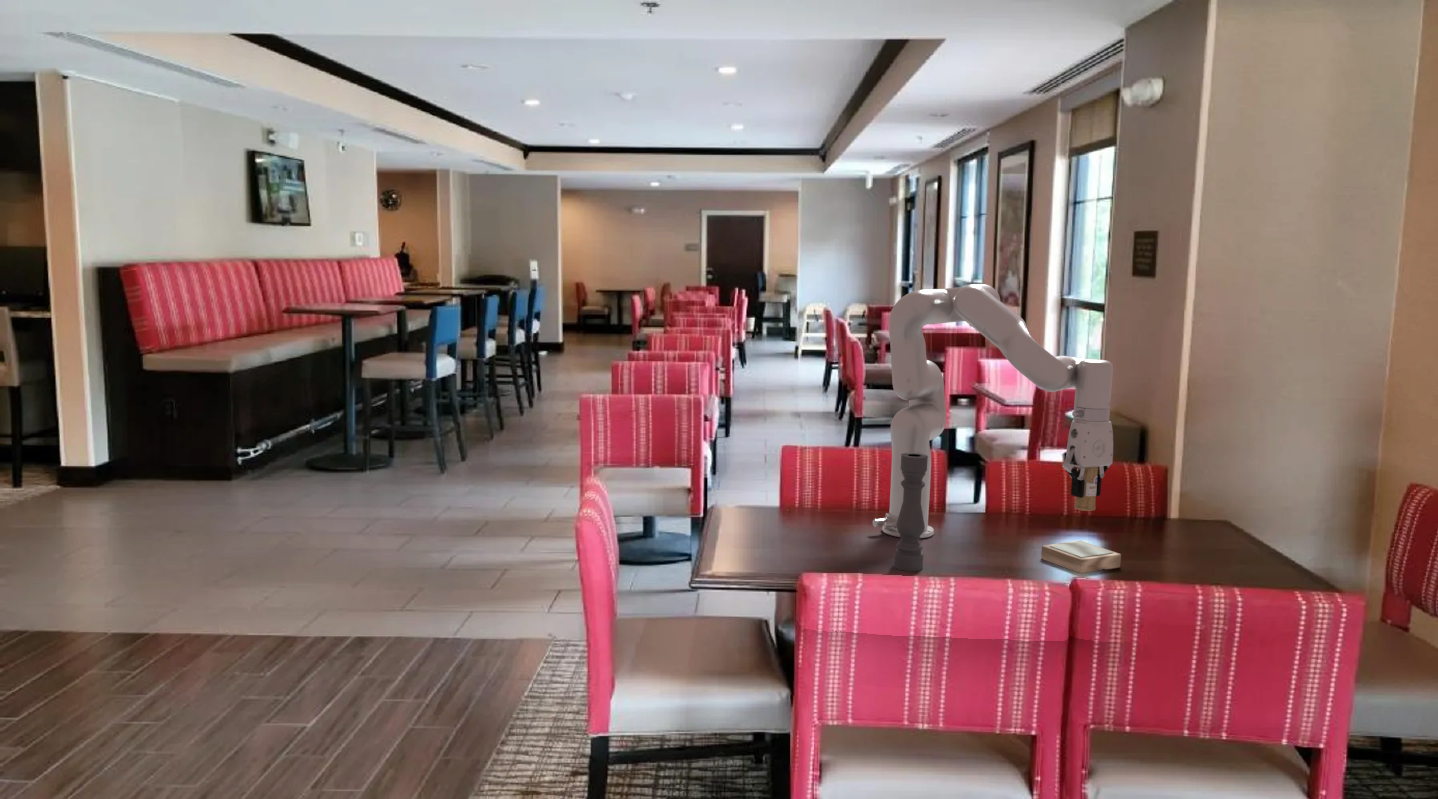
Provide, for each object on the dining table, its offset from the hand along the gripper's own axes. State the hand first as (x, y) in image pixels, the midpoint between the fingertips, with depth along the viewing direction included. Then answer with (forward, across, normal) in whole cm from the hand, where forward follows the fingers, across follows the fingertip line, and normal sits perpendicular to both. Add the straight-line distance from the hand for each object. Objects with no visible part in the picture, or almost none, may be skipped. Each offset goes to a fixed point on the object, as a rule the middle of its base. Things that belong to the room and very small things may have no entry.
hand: (1085, 494), depth 233 cm
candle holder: (+16, -39, +12) cm, 44 cm away
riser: (+16, 0, 0) cm, 16 cm away
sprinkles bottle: (+4, 0, 0) cm, 4 cm away
